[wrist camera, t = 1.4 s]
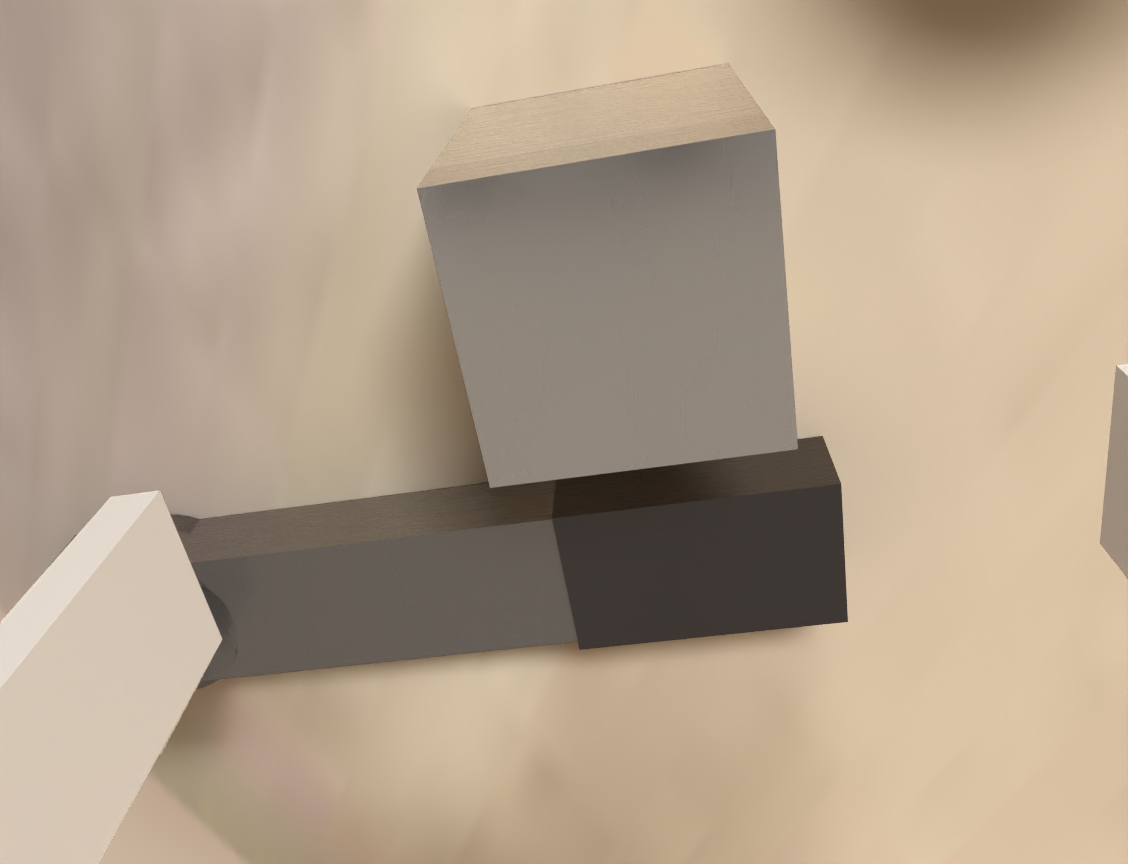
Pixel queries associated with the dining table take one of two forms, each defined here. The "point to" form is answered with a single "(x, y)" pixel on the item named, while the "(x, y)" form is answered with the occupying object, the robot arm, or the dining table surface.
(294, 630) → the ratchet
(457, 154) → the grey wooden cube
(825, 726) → the dining table surface
